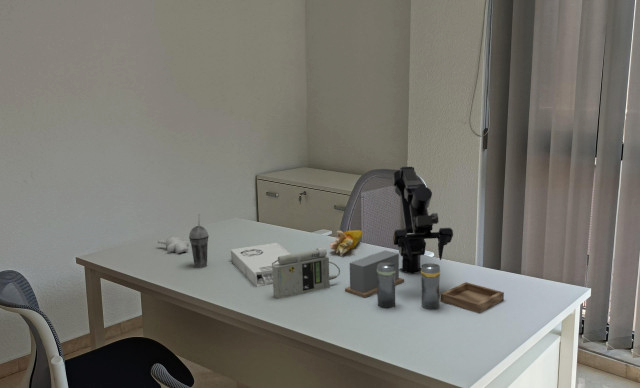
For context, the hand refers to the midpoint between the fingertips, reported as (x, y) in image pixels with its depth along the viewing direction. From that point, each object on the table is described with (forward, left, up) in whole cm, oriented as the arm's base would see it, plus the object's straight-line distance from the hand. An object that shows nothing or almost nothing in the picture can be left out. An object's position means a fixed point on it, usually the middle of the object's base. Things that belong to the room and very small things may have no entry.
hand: (426, 259), depth 206 cm
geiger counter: (+20, -34, -13) cm, 42 cm away
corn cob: (-23, -55, -13) cm, 62 cm away
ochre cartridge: (+5, +5, -13) cm, 15 cm away
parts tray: (-8, +12, -13) cm, 19 cm away
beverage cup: (+30, -83, -13) cm, 89 cm away
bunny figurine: (+25, -109, -13) cm, 113 cm away
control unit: (+3, -19, -13) cm, 23 cm away
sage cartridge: (+13, -6, -13) cm, 19 cm away
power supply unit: (+15, -61, -14) cm, 65 cm away
